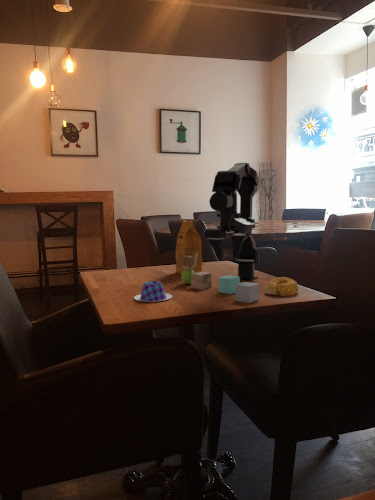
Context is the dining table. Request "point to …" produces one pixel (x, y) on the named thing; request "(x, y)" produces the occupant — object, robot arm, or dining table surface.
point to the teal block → (228, 284)
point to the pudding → (153, 292)
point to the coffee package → (188, 246)
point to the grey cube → (247, 292)
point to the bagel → (282, 287)
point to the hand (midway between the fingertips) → (228, 258)
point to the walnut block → (201, 280)
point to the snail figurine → (188, 268)
